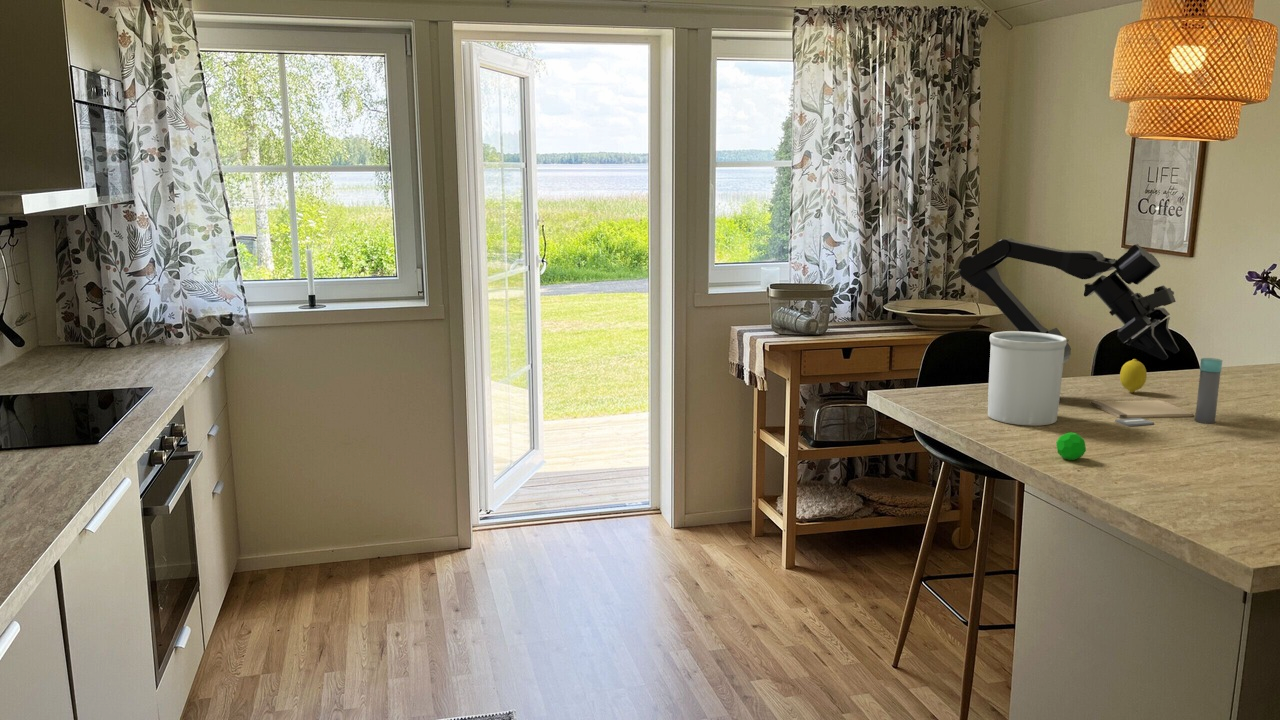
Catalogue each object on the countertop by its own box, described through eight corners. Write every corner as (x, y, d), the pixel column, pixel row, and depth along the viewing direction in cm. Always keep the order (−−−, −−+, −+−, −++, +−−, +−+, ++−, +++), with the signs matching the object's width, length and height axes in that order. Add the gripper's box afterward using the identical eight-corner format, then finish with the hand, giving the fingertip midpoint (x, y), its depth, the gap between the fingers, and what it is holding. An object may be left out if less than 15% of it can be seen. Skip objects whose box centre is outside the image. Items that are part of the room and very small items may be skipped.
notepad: (1119, 418, 205) (1119, 414, 204) (1090, 404, 216) (1090, 401, 216) (1193, 416, 205) (1193, 413, 205) (1160, 402, 217) (1160, 399, 217)
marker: (1201, 423, 199) (1208, 361, 197) (1190, 419, 203) (1196, 358, 201) (1219, 423, 200) (1226, 361, 197) (1208, 418, 203) (1214, 357, 201)
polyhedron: (1091, 461, 175) (1093, 436, 174) (1068, 464, 174) (1070, 438, 173) (1071, 453, 180) (1073, 428, 179) (1049, 456, 179) (1051, 431, 178)
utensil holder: (995, 406, 216) (1001, 328, 212) (1067, 415, 207) (1073, 334, 204) (975, 420, 204) (980, 338, 200) (1050, 430, 195) (1057, 345, 192)
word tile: (1128, 426, 198) (1128, 423, 198) (1115, 421, 202) (1115, 419, 202) (1153, 424, 199) (1154, 422, 199) (1139, 419, 203) (1140, 417, 203)
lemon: (1149, 395, 224) (1152, 361, 223) (1125, 395, 224) (1128, 361, 223) (1137, 389, 230) (1141, 356, 228) (1114, 390, 230) (1117, 356, 228)
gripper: (1139, 278, 197) (1194, 337, 192) (1162, 270, 211) (1215, 325, 206) (1094, 313, 203) (1147, 371, 198) (1120, 303, 217) (1170, 357, 212)
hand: (1171, 355), depth 203 cm, fingers open, 9 cm apart
